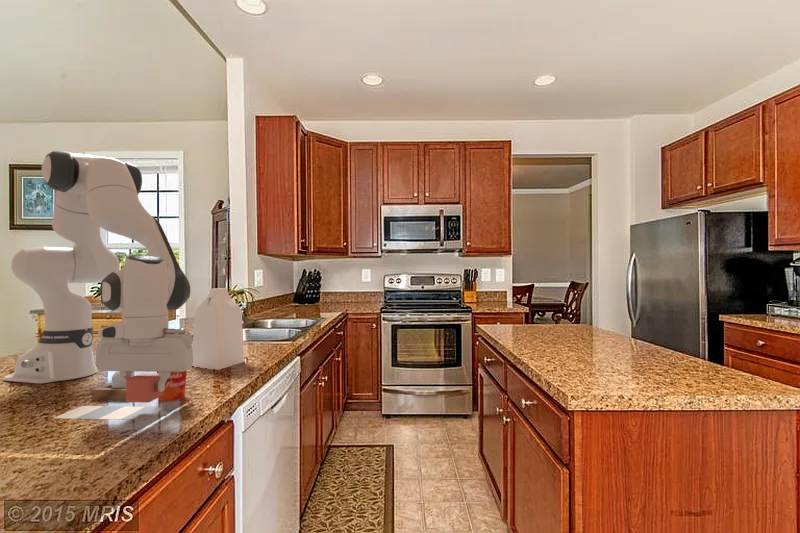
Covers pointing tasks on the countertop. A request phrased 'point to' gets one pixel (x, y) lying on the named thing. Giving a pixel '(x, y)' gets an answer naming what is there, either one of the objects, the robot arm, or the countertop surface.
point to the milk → (217, 332)
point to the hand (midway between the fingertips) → (145, 390)
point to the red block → (142, 388)
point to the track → (111, 412)
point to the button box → (108, 393)
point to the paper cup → (174, 386)
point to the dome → (118, 380)
